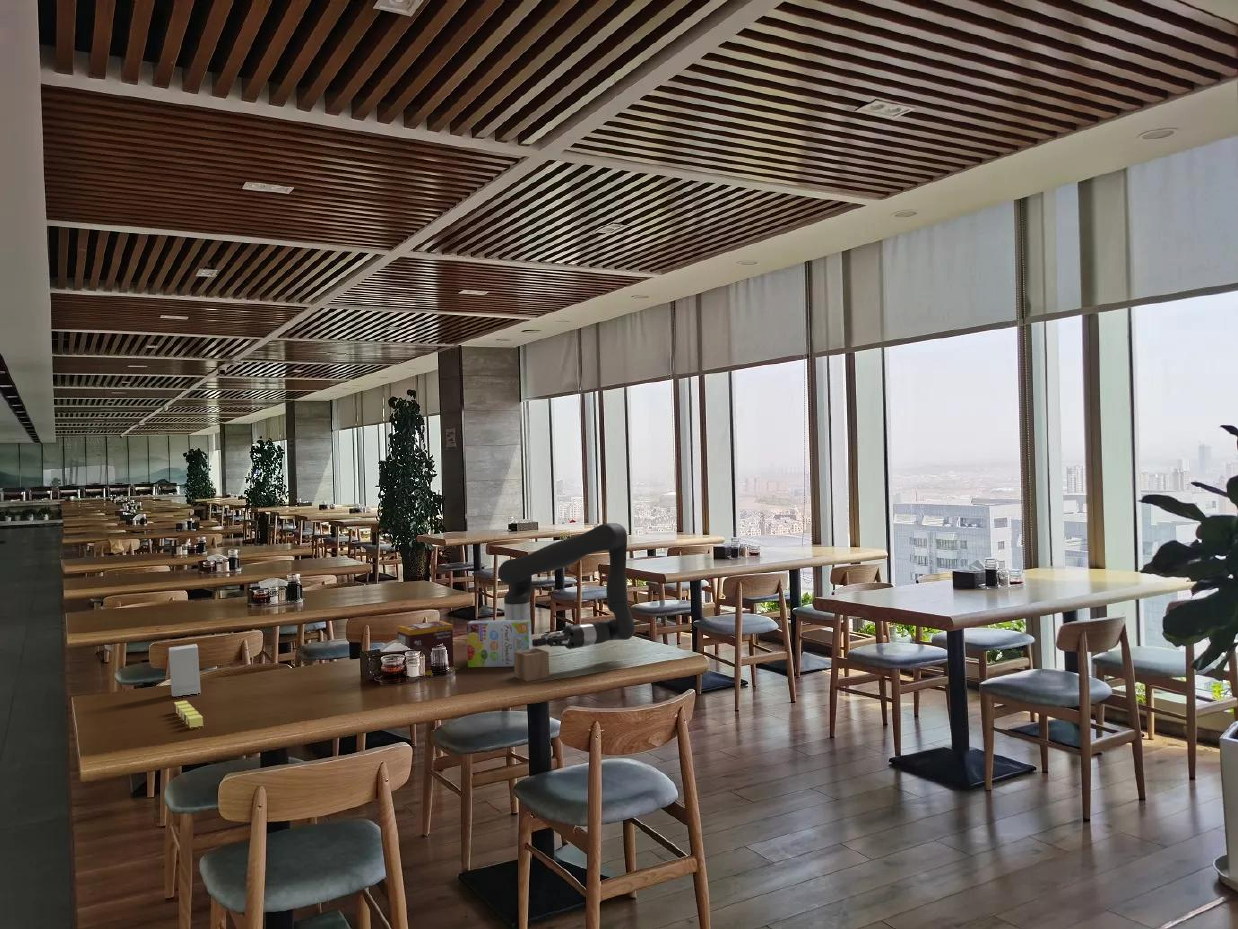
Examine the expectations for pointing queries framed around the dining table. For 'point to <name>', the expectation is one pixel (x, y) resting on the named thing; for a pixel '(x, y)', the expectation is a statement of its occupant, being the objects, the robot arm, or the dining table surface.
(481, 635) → the snack box
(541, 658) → the walnut cube
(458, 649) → the dining table surface
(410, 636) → the supplement box
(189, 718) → the yellow segmented bar
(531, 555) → the robot arm
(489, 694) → the dining table surface
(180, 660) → the skincare box
